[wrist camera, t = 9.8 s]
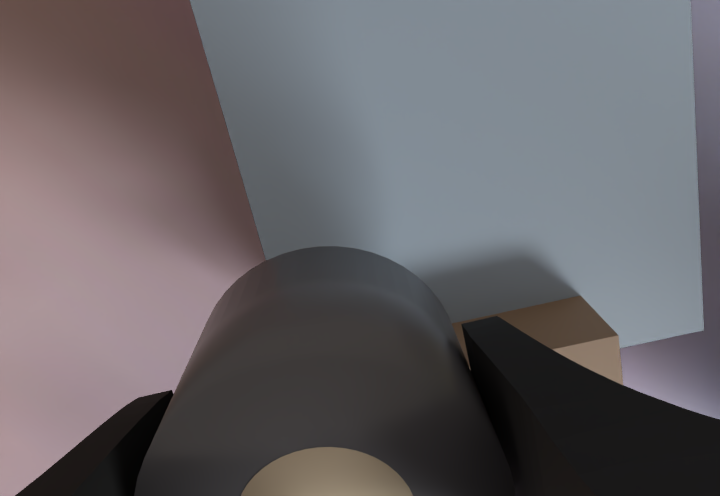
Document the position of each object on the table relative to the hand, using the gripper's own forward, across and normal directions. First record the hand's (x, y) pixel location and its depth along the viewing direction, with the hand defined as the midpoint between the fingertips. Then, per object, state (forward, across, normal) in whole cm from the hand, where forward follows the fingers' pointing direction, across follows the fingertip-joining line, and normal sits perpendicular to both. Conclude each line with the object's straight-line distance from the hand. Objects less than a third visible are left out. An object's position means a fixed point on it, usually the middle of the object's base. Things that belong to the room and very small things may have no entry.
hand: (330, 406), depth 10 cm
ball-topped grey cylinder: (+1, 0, 0) cm, 1 cm away
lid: (+5, -4, -4) cm, 7 cm away
